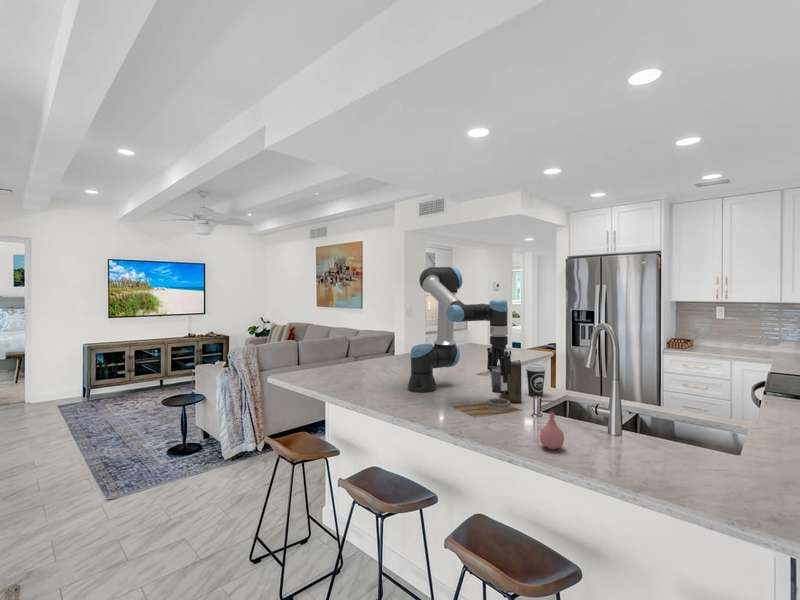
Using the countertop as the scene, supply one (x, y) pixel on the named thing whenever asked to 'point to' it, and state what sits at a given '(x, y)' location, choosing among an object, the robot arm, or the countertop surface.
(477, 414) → the mount board
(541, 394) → the coffee cup
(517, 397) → the vintage camera
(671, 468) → the countertop surface
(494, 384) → the lens
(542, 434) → the perfume bottle
